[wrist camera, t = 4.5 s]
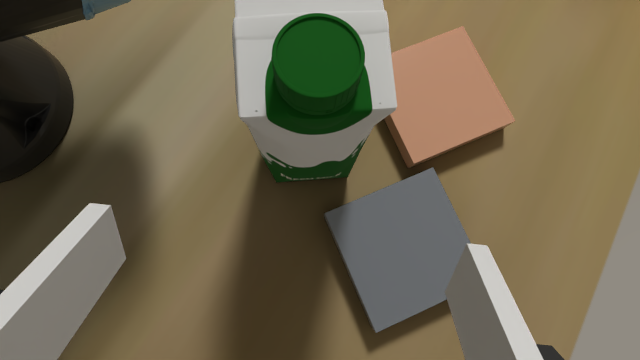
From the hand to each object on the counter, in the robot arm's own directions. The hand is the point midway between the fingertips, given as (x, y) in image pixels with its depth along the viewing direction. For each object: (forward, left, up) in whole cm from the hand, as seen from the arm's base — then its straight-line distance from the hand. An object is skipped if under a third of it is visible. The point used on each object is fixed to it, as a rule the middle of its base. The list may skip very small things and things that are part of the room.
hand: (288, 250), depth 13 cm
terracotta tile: (-9, +18, -20) cm, 28 cm away
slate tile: (+3, +9, -20) cm, 22 cm away
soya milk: (-9, +5, -20) cm, 22 cm away
